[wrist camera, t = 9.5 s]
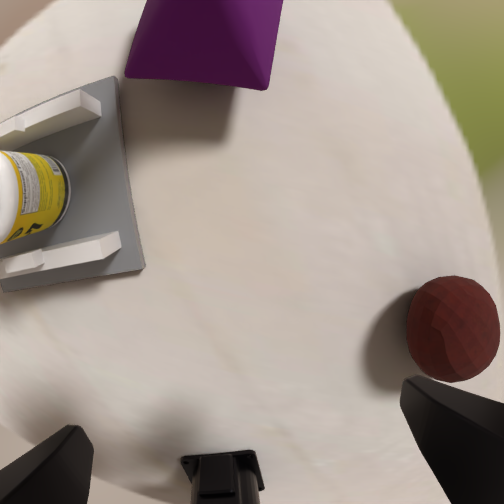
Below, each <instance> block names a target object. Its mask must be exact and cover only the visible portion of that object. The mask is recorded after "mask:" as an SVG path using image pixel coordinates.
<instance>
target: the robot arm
mask: <svg viewBox="0 0 504 504" xmlns="http://www.w3.org/2000/svg"><path fill="white" fill-rule="evenodd" d="M400 407H401V409H402V412H403V414H404V416H405V418H406V420H407V423H408V425H409V427H410V429H411V432H412V434H413V436H414V438H415V441H416V443H417V445H418V447H419V449H420V451H421V453H422V455H423V456H424V458H425V460H426V461H427V463H428V465H429V466H430V468H431V470H432V471H433V473H434V475H435V476H436V478H437V480H438V482H439V483H440V485H441V487H442V488H443V490H444V492H445V494H446V495H447V497H448V499H449V501H450V502H451V504H504V403H501V402H497V401H494V400H491V399H488V398H485V397H482V396H479V395H475V394H472V393H469V392H466V391H463V390H460V389H457V388H454V387H451V386H449V385H446V384H443V383H440V382H437V381H434V380H431V379H429V378H426V377H423V376H420V375H413V376H410V377H408V378H405V379H404V380H403V382H402V389H401V396H400ZM93 454H94V449H93V445H92V443H91V442H90V440H89V438H88V437H87V435H86V433H85V432H84V430H83V428H82V427H81V426H79V425H66V426H65V427H63V428H62V429H60V430H59V431H58V432H56V433H55V434H53V435H52V436H50V437H49V438H47V439H46V440H45V441H43V442H42V443H40V444H39V445H37V446H36V447H34V448H33V449H32V450H30V451H28V452H27V453H25V454H24V455H22V456H21V457H19V458H18V459H16V460H15V461H14V462H12V463H10V464H9V465H8V466H6V467H4V468H3V469H1V470H0V504H87V501H88V496H89V489H90V480H91V470H92V462H93ZM181 464H182V466H183V468H184V470H185V472H186V474H187V476H188V478H189V480H190V481H191V483H192V492H191V504H260V500H259V492H258V491H262V490H264V489H265V487H264V483H263V479H262V475H261V471H260V467H259V463H258V460H257V456H256V452H255V451H253V450H246V451H239V452H230V453H221V454H211V455H198V456H184V457H182V458H181Z"/></svg>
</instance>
